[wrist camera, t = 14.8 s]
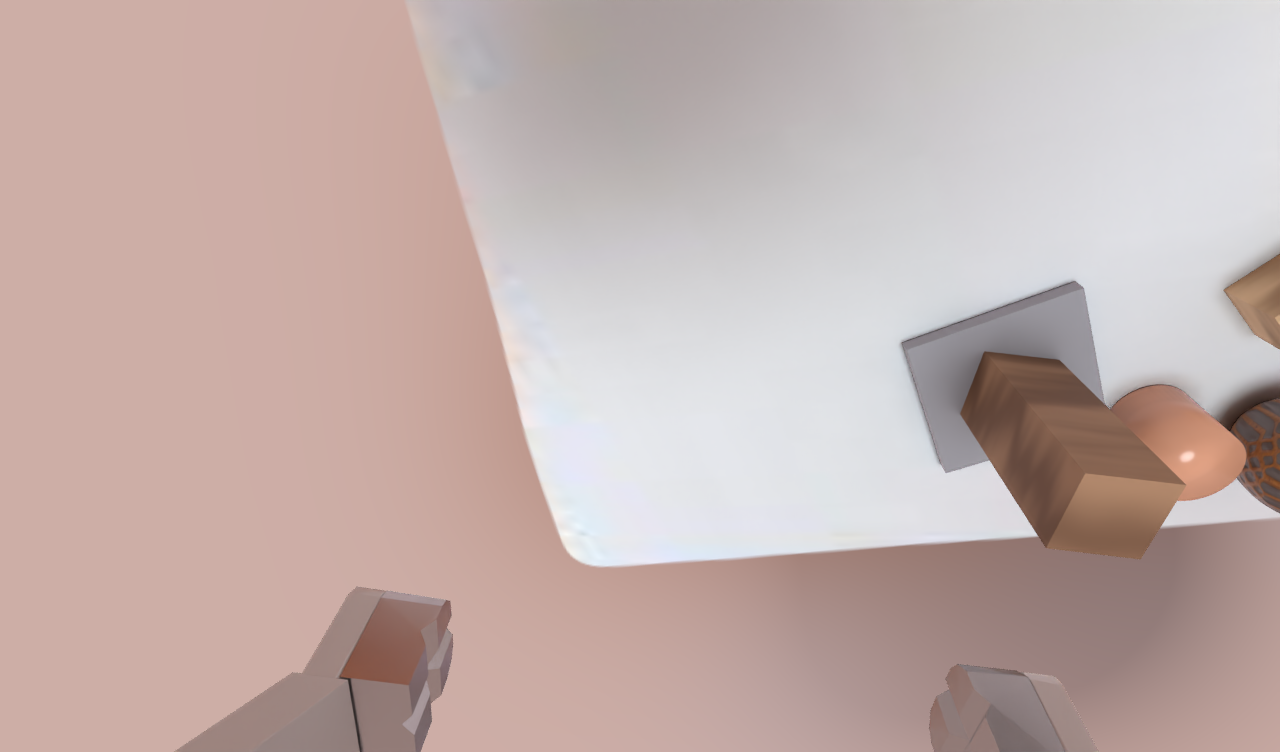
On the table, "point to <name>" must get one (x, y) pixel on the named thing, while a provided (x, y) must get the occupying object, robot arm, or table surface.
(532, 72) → the table surface
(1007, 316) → the grey pad
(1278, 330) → the oak cube
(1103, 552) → the walnut block
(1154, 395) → the peach rounded cylinder
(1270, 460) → the vase
